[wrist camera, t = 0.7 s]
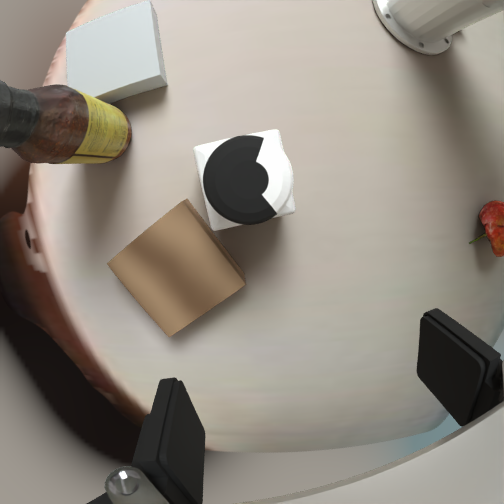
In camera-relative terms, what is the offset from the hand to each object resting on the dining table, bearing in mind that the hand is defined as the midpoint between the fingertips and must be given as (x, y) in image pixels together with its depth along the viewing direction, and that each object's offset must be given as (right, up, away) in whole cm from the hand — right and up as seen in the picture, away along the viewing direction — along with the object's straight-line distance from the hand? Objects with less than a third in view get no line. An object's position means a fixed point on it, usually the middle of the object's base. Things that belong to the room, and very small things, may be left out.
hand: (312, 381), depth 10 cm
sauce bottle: (-18, +17, +18) cm, 31 cm away
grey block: (-17, +26, +16) cm, 35 cm away
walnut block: (-10, +4, +22) cm, 25 cm away
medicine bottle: (-3, +12, +21) cm, 24 cm away
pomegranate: (+31, +9, +24) cm, 40 cm away
